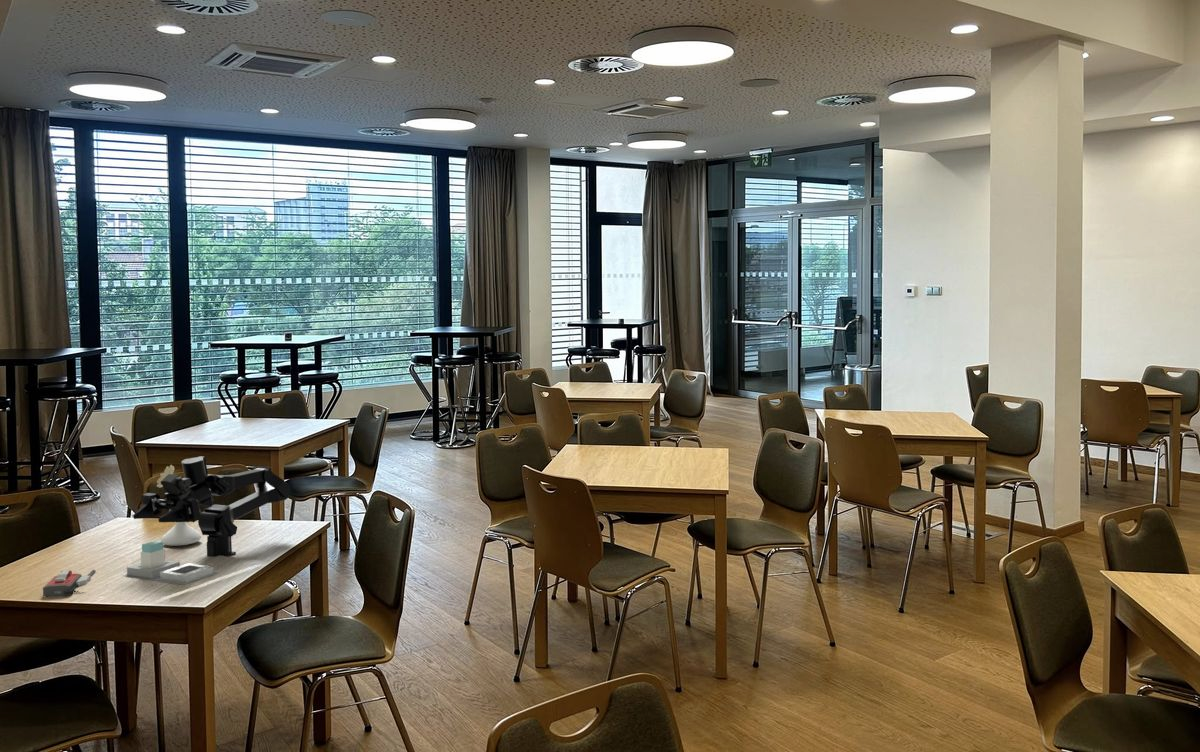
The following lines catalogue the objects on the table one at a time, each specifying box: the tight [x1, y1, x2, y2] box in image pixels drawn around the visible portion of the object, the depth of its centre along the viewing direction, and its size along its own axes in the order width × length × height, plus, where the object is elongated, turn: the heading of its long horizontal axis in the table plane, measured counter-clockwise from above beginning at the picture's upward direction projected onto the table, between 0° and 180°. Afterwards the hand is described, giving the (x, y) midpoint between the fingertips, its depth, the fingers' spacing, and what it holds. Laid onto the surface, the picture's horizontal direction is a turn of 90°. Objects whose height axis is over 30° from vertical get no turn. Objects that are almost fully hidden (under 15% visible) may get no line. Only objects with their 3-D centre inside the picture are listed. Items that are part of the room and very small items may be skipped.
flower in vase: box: [156, 464, 202, 547], centre depth 298 cm, size 13×11×25 cm
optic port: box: [160, 562, 214, 584], centre depth 262 cm, size 9×10×2 cm
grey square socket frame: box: [126, 559, 181, 578], centre depth 266 cm, size 9×10×2 cm
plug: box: [140, 540, 167, 569], centre depth 266 cm, size 4×5×8 cm
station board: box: [122, 571, 218, 586], centre depth 264 cm, size 22×12×1 cm, turn 67°
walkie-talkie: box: [42, 569, 96, 597], centre depth 256 cm, size 9×4×20 cm
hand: (146, 518), depth 262 cm, fingers open, 9 cm apart
